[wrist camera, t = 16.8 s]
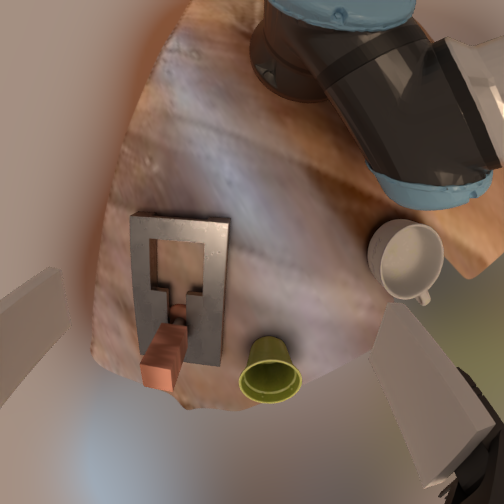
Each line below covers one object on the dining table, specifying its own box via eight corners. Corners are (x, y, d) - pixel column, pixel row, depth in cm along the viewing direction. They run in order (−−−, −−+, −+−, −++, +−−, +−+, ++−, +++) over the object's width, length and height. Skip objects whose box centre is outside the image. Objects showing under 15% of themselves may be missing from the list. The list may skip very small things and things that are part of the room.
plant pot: (286, 319, 47) (291, 352, 38) (302, 360, 49) (308, 394, 41) (233, 336, 48) (228, 370, 40) (253, 375, 51) (252, 409, 42)
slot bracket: (230, 218, 42) (228, 223, 38) (222, 354, 49) (219, 366, 46) (138, 211, 41) (129, 215, 38) (146, 343, 49) (140, 354, 46)
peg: (198, 306, 46) (176, 365, 32) (198, 334, 48) (179, 396, 34) (165, 301, 46) (133, 357, 32) (166, 330, 48) (138, 389, 34)
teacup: (353, 227, 42) (372, 242, 34) (412, 203, 40) (439, 213, 32) (373, 303, 45) (391, 328, 38) (426, 278, 44) (450, 299, 36)
